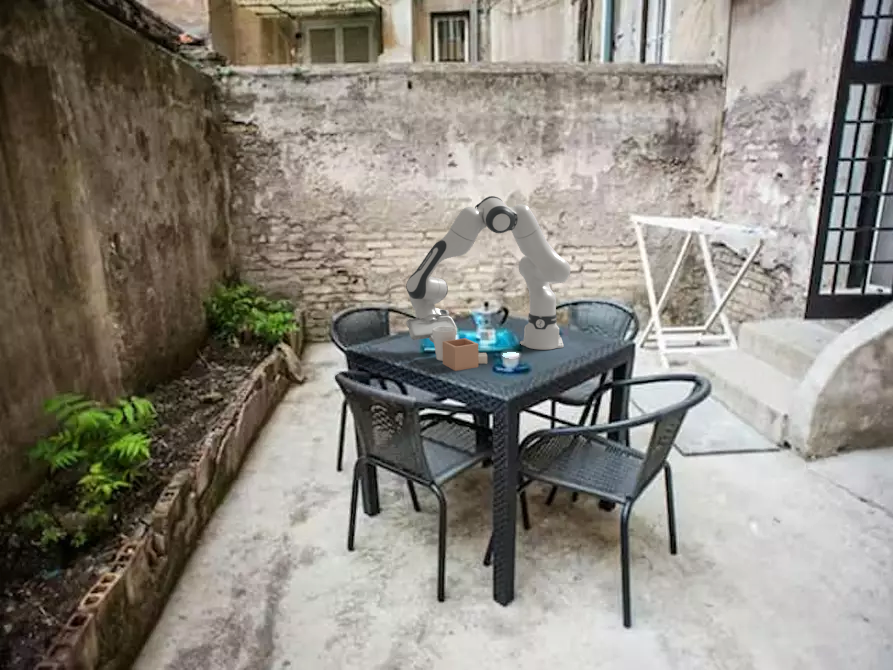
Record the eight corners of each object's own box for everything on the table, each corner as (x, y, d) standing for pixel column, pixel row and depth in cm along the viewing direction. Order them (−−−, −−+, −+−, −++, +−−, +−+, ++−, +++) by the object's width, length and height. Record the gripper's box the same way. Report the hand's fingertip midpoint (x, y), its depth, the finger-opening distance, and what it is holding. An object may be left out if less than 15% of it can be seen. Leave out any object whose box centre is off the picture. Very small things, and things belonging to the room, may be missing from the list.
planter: (442, 366, 230) (442, 341, 227) (465, 362, 234) (465, 338, 232) (455, 373, 221) (455, 347, 219) (478, 369, 226) (478, 343, 223)
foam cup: (429, 362, 235) (428, 330, 232) (438, 356, 243) (438, 325, 240) (451, 365, 232) (450, 332, 228) (460, 358, 240) (460, 327, 237)
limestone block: (473, 362, 235) (473, 352, 234) (486, 362, 235) (486, 352, 234) (474, 366, 230) (474, 356, 229) (487, 366, 230) (487, 356, 229)
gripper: (407, 315, 240) (417, 344, 234) (451, 310, 250) (463, 337, 244) (402, 323, 245) (413, 352, 239) (446, 318, 255) (457, 345, 249)
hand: (438, 344), depth 242 cm, fingers closed
